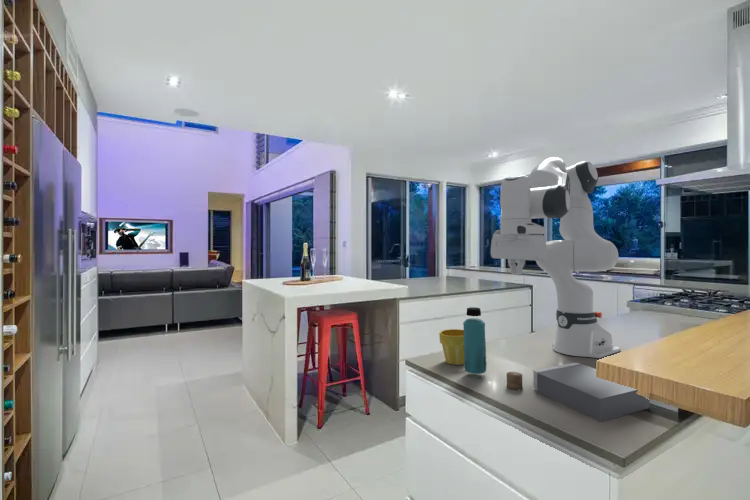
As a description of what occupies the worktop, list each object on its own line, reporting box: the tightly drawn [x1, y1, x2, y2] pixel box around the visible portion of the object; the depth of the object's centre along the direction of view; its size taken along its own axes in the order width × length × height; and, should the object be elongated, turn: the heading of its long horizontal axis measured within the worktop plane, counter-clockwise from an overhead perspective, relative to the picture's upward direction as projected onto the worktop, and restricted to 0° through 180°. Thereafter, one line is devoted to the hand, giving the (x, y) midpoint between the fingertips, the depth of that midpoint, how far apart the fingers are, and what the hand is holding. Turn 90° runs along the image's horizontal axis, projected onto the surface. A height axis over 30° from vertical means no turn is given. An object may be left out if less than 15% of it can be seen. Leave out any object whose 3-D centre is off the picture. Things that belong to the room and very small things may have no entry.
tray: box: [532, 362, 581, 391], centre depth 96 cm, size 18×15×5 cm
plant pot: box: [439, 328, 464, 366], centre depth 126 cm, size 10×10×10 cm
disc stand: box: [506, 371, 524, 391], centre depth 104 cm, size 4×4×4 cm
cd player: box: [536, 363, 651, 422], centre depth 95 cm, size 18×16×5 cm
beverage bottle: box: [462, 306, 488, 375], centre depth 113 cm, size 6×7×20 cm
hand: (516, 274), depth 117 cm, fingers closed
